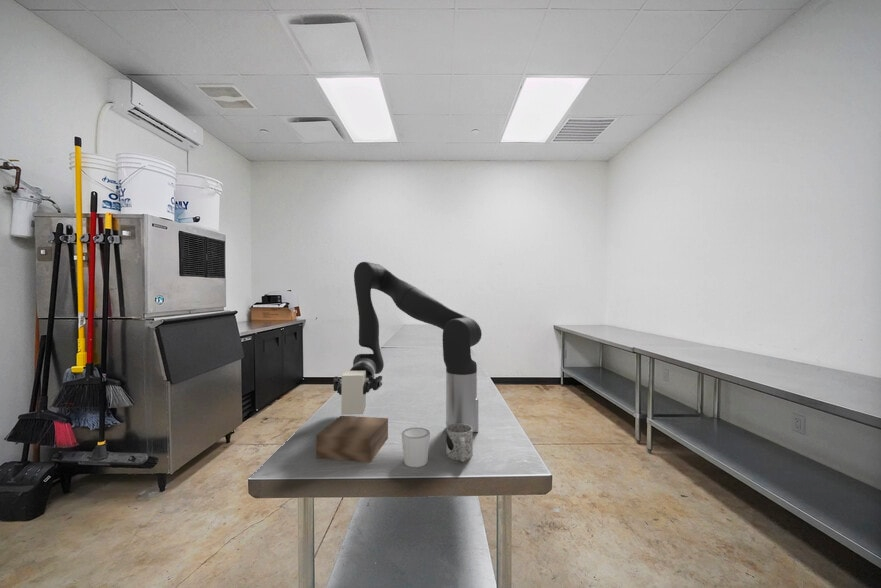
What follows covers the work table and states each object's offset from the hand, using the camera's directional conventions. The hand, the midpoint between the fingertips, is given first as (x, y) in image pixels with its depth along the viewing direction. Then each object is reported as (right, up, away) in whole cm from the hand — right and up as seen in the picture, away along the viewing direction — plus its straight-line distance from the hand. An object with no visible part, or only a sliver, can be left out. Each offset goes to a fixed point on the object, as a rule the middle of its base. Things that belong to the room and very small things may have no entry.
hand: (352, 390), depth 88 cm
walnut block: (0, -16, +2) cm, 16 cm away
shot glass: (+17, -16, -5) cm, 24 cm away
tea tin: (0, -6, +3) cm, 7 cm away
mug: (+27, -16, -3) cm, 32 cm away
